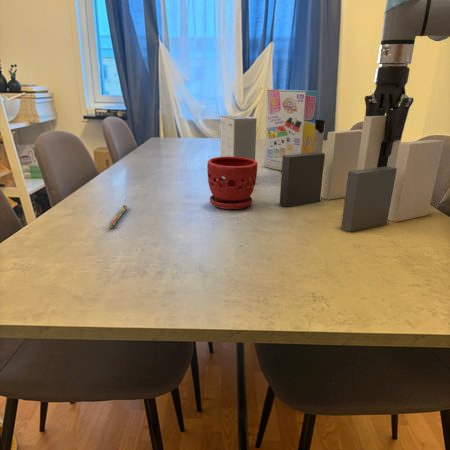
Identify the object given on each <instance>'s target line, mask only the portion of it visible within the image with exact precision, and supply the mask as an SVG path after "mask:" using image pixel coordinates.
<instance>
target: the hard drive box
mask: <svg viewBox="0 0 450 450" xmlns="http://www.w3.org/2000/svg"><path fill="white" fill-rule="evenodd" d="M257 120H258V118H256V117H252V116H246V115H241V114H240V115H239V114H237V115H235V114H234V115H233V114H232V115H220V157H225V156H230V157H244V158H249V159H253V160H255V161H256V148H257V147H256V145H257V144H256V143H257ZM221 178H222V179H225V178H224V177H223V176H222V177H221ZM250 179H251V178H250Z"/></svg>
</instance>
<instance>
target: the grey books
mask: <svg viewBox="0 0 450 450" xmlns="http://www.w3.org/2000/svg"><path fill="white" fill-rule="evenodd" d="M325 157H326V152H325V153H324V152H322V153H320V152H313V153H303V154H293V155H283V158H282V171H281V173H280V174H281V176H280V193H279V205H281V206H283V207H285V208H289V207H294V206H301V205H306V204H311V203H317V202H318V203H319V202H320V201H321V195H322V186H323V176H324V167H325ZM396 171H397V168H393V167H388V166H385V167H377V168H370V169H362V170H354V171H348V179H347V187H346V194H345V197H344V203H343V210H342V218H341V225H340V229H342V230H345V231H347V232H351V233H352V232H355V231H360V230H365V229H369V228H374V227H375V228H376V227H379V226H383V225H387V224H388V221H389V220H388V215H389V209H390V204H391V198H392V193H393V187H394V182H395V176H396Z"/></svg>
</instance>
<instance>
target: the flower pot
mask: <svg viewBox="0 0 450 450" xmlns="http://www.w3.org/2000/svg"><path fill="white" fill-rule="evenodd" d="M206 164H207V167H206V168H207V184H208V187H209V191H210V192H211V194H212V195H211V196H209V202H210V203H211V205H213V206H214V207H216V208H218V209H219V208H220V209H223V210H240V209H244V208H245V209H246V208H247V207H249V206H250V205H251V204H252V203H253V198H252V194H253V192H254V189H255V186H256V182H257V176H258V161H256V159H255V160H253V159H249V158H244V157H230V156H225V157H221V156H216V157H212V158H210V159H208V160H207V163H206ZM222 176H223V177H224V178H225V179H224V178H223V177H222ZM250 178H251V179H250Z"/></svg>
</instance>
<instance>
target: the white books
mask: <svg viewBox="0 0 450 450" xmlns="http://www.w3.org/2000/svg"><path fill="white" fill-rule="evenodd" d="M361 136H362V129H350V130H349V129H348V130H336V131H328V132H327V139H326V149H325V158H324V168H323V177H322V187H321V196H320V199H324V200H327V201H331V200H335V199H336V200H337V199H342V198H345V194H346V187H347V179H348V171H354V170H357V164H358V157H359V150H360V143H361ZM444 144H445V140H442V139H436V138H435V139H434V138H432V139H422V140H411V141H401V143H400V144H399V149H398V155H397V160H396V166H395V168H397V171H396V176H395V182H394V187H393V193H392V198H391V204H390V209H389V215H388V220H387V221H392V222H394V223H398V222H401V221H407V220H411V219H416V218H421V217H426V216H428V215H429V212H430V207H431V203H432V198H433V193H434V189H435V185H436V180H437V177H438V172H439V168H440V162H441V158H442V155H443V150H444Z"/></svg>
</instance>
